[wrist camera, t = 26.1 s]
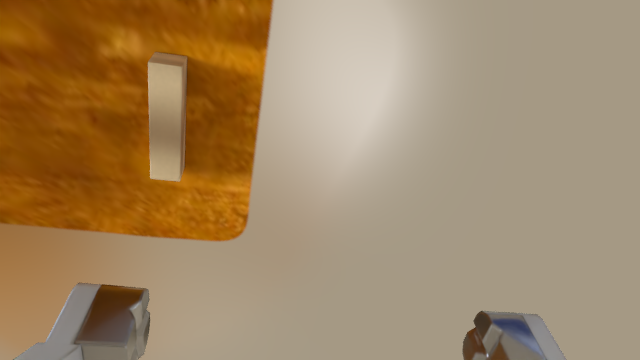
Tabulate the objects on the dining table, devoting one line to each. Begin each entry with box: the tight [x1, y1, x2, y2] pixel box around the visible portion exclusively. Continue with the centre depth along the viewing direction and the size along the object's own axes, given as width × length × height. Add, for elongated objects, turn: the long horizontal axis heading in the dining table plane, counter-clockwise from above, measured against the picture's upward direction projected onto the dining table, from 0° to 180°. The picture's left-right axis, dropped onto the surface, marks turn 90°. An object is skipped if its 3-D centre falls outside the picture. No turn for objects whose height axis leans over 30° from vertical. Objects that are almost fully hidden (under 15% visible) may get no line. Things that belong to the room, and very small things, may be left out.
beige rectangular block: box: [148, 52, 187, 181], centre depth 37 cm, size 10×2×2 cm, turn 170°
